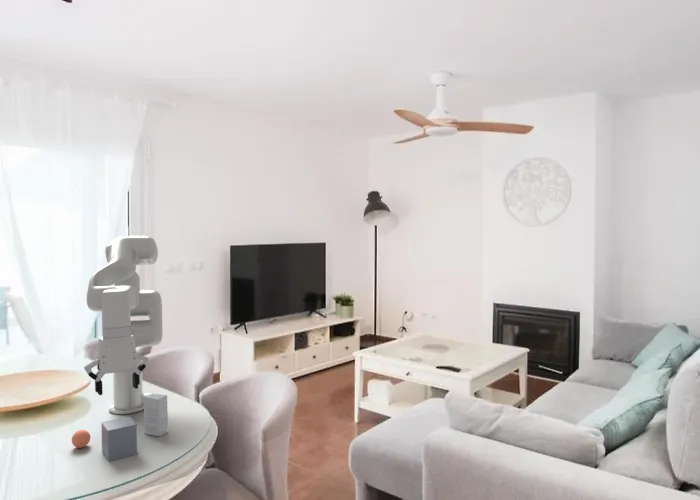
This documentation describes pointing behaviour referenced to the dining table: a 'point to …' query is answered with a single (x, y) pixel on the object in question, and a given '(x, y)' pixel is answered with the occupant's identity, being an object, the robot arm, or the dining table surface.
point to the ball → (81, 438)
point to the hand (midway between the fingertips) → (117, 390)
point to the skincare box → (155, 414)
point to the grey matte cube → (119, 438)
